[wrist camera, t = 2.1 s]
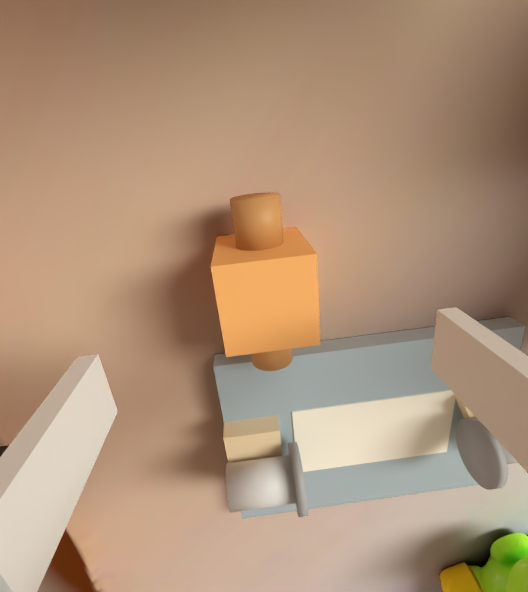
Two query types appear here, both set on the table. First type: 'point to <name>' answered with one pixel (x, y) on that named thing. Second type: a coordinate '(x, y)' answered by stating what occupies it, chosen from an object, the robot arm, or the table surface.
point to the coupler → (265, 284)
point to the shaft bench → (352, 425)
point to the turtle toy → (493, 569)
